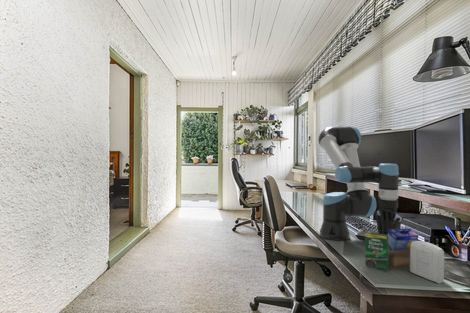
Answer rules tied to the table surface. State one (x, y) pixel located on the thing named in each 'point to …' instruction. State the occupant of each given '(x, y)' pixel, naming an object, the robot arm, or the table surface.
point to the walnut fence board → (399, 259)
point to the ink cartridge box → (400, 239)
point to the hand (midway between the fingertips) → (387, 251)
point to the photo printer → (427, 261)
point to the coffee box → (376, 250)
